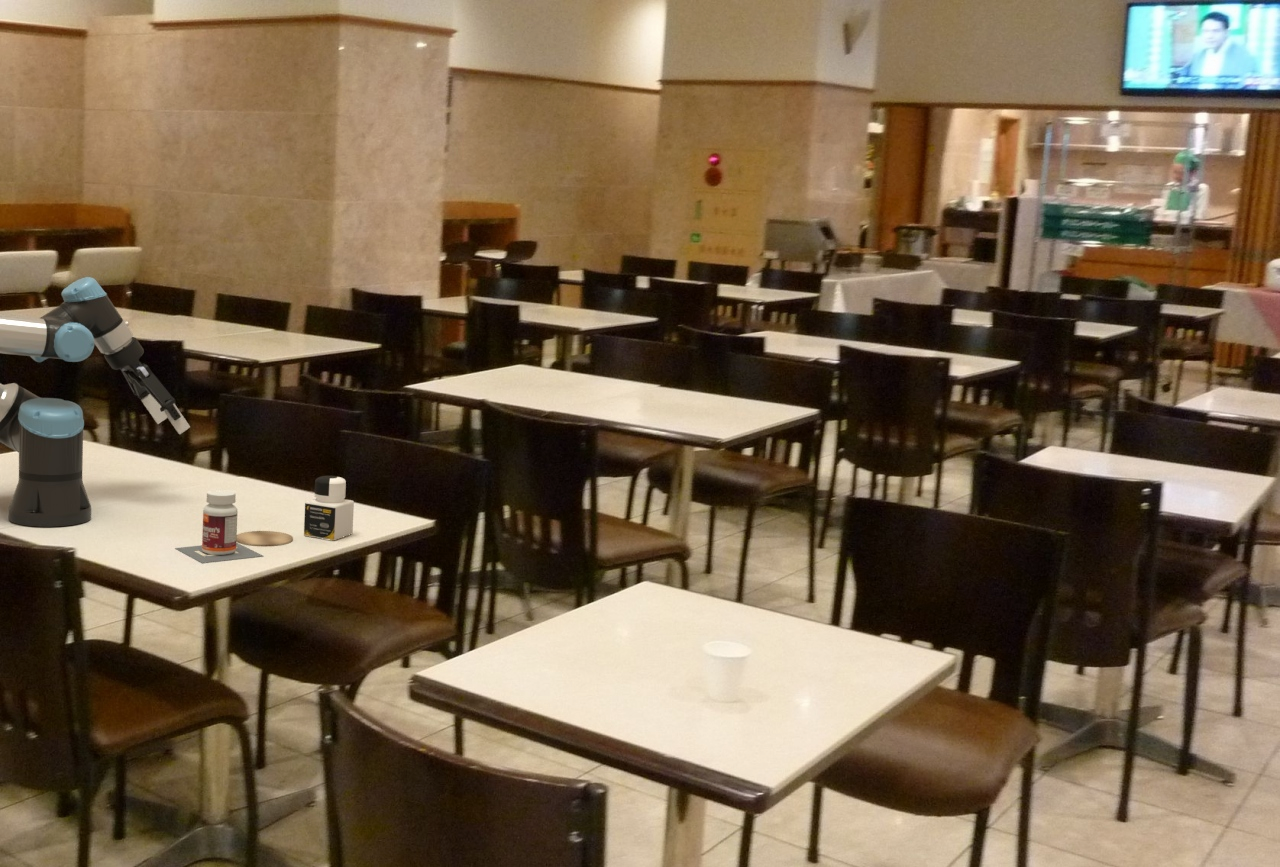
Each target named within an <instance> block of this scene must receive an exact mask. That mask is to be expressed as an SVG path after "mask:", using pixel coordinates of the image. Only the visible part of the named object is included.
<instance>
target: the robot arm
mask: <svg viewBox="0 0 1280 867" xmlns="http://www.w3.org/2000/svg"><path fill="white" fill-rule="evenodd" d="M61 297H62V300H63V302H62V303H60V305H58V306H57V307H54V308H53V309H51V310H50V311H49V312H47V313H46V314H43V315H42V316H41V317H39V318H37V317H30V316H21V315H19V316H18V315H12V314H1V313H0V354H3V355H4V354H5V355H17V356H25V357H26V356H27V357H30V358H31V359H32V360H33V361H35V362H37V363H42V362H44V361H45V360H47V359H58V360H62V361H64V362H69V363H71V362H72V363H76V362H77V363H78V362H82V361H84V360H86V359H88V358H89V357H90V356H91V355H92V353H93V350H94V348H95V346H96V348H97V349H98V350H99V352H100V354H103V357H104V359H105V361H106V362H107V363H108V364H109V366H110V368H111V369H113V370H115V371H116V370H117V371H118V370H120V371H121V373H122V374H123V376H124V378H125V380H126V382H127V383H128V385H129V387H130V389H131V391H132V394H134V396H137V398H138V399H139V400H140V401H141V403H142V404H143V406H144V407H145V408H146V410H147V411H148V412H149V414H150V415H151V417H152V418H153V420H154V421H155V423H156V424H157V425H159V424H160V423H162V422H164V421H165V420H167V419H168V421H169V422H170V424H171V425H172V426H173V428H174V429H175V431H176V432H177V434H178V435H182V434H183V433H184V432H186V431H187V430H188V429H190V428H191V426H190V424H189V423H188V421H187V420H186V418H185V417H184V415H183V414H182V413H181V411H180V409H179V408H178V407H177V405H176V399H175V398H174V397H173V395H171V393H170V392H169V391H168V390H167V389H166V387H165V386H164V385H163V384H162V382H161V381H160V380H159V378H158V377H157V376H156V375H155V374H154V372H152V370H151V369H150V367H149V365H147V364H145V363H142V362H141V361H140V358H141V357H142V356H143V354H144V352H145V350H144V348H143V346H142V345H141V344H140V342H139V340H138V339H137V337H134V334H133V333H132V331H131V328H129V327H128V326H130V323H129V321H127V320H126V321H125V320H124V319H123V318H122V316H121V314H120V313H119V311H118V310H117V308H116V307H115V305H114V304H113V302H112V301H111V299H110V298H109V296H108V293H107V292H105V290H104V289H103V288H102V286H101V285H100V284H99V282H98V281H97V280H96V279H95V278H94V277H90V276H85V277H83V278H79V279H77V280H75V281H74V282H72V283H70V284H69V285H67V287H64V289H63V290H62V291H61ZM84 426H85V420H84V412H83V409H82V408H81V406H80V405H79V404H78V403H76V402H73V401H70V400H64V399H63V398H56V397H55V398H54V397H40V396H38V395H36V394H34V393H32V392H31V391H29V390H27V389H26V388H24V387H22V385H21V386H20V385H19V384H18V383H16V382H13V383H7V384H2V383H1V382H0V443H1V444H3V445H5V446H6V447H8V448H9V449H11V450H13V451H15V452H17V453H18V482H17V485H16V488H15V491H14V493H13V496H12V499H11V501H10V504H9V507H8V521H10V522H11V523H13V524H17V525H21V526H26V527H27V526H28V527H38V528H39V527H40V528H41V527H43V528H45V527H46V528H48V527H51V528H53V527H67V526H75V525H81V524H83V523H84V524H85V523H86V522H89V521H90V520H91V519H92V505H91V502H90V500H89V497H88V493H87V491H86V488H85V484H84V482H83V462H84V459H83V456H84V455H83V453H84V452H83V451H84Z"/></svg>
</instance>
